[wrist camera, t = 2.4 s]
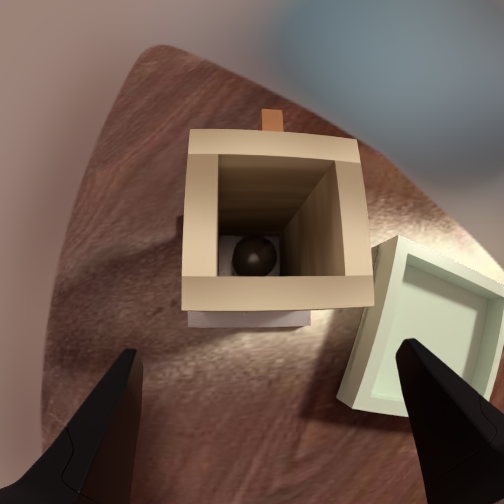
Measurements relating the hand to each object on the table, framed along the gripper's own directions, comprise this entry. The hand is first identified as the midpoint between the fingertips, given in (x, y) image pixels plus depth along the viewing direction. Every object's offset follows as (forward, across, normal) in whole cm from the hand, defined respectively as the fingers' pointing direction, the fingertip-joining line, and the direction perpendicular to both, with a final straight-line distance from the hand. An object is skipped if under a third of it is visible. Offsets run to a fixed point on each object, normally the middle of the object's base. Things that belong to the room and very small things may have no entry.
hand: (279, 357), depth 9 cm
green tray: (+7, -15, +9) cm, 19 cm away
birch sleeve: (+10, 0, +4) cm, 11 cm away
